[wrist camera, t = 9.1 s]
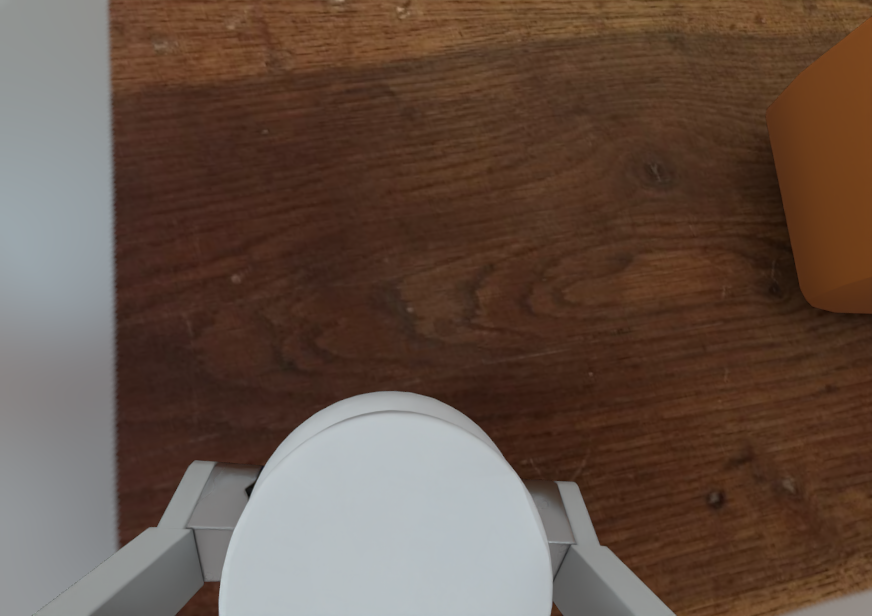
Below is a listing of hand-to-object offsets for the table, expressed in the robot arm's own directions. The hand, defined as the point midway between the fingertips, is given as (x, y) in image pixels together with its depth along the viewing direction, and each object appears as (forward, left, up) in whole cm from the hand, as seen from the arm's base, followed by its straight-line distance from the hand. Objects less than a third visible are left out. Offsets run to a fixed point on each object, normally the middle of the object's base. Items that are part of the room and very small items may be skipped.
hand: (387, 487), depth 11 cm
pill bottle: (0, -1, -6) cm, 6 cm away
